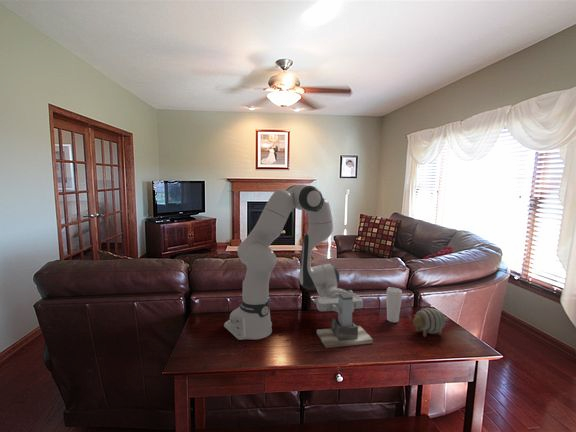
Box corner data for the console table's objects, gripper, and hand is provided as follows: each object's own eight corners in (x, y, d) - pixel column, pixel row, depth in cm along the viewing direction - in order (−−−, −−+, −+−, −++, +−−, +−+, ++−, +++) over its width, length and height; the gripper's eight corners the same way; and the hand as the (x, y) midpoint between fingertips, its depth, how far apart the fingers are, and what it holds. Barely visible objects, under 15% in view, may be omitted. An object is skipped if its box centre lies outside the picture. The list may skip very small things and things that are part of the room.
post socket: (316, 332, 126) (317, 318, 126) (359, 328, 130) (360, 314, 130) (325, 348, 115) (326, 332, 114) (372, 343, 119) (373, 327, 118)
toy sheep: (405, 330, 130) (406, 305, 129) (436, 325, 135) (438, 302, 134) (422, 342, 120) (424, 316, 119) (455, 336, 125) (457, 311, 124)
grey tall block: (337, 325, 124) (338, 293, 123) (346, 324, 125) (347, 292, 124) (342, 330, 119) (343, 297, 118) (351, 329, 120) (352, 297, 119)
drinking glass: (401, 319, 140) (403, 289, 139) (398, 325, 135) (400, 293, 133) (387, 316, 144) (388, 286, 142) (383, 321, 138) (385, 290, 137)
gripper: (312, 292, 131) (322, 305, 118) (354, 289, 136) (368, 301, 122) (312, 306, 132) (321, 320, 119) (354, 302, 136) (368, 315, 123)
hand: (346, 310), depth 120 cm, fingers closed on grey tall block, 4 cm apart
